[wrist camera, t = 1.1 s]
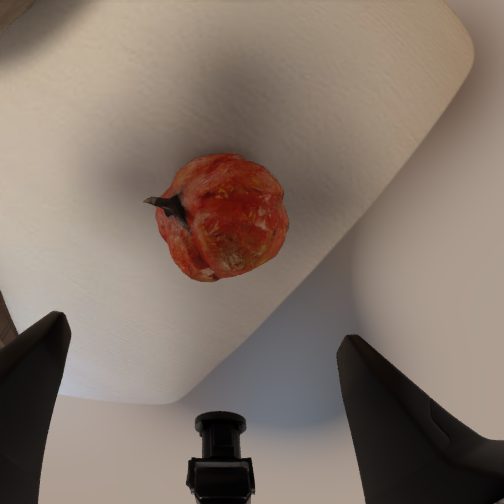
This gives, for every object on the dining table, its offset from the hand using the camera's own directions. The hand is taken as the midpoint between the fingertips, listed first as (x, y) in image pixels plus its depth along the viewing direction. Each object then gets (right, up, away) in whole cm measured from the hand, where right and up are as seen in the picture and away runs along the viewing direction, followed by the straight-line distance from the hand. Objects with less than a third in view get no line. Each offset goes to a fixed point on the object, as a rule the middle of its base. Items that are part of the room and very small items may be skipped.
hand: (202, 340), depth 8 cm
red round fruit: (0, +6, +11) cm, 13 cm away
